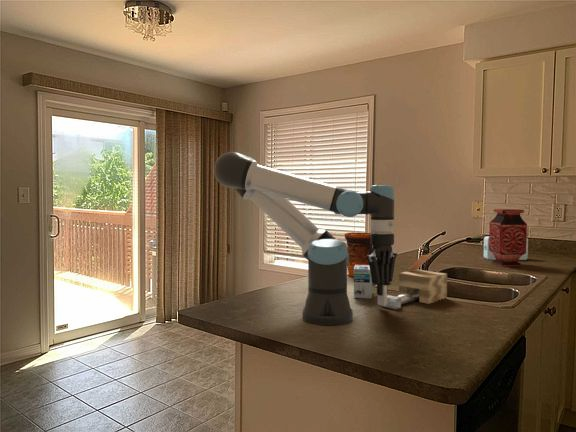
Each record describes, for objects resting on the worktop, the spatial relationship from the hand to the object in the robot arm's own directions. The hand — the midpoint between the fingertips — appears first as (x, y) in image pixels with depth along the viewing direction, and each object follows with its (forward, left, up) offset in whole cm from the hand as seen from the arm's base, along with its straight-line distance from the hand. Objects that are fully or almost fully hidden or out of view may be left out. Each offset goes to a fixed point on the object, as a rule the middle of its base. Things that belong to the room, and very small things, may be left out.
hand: (382, 304), depth 139 cm
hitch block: (+24, 0, -2) cm, 24 cm away
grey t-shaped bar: (+12, 0, -2) cm, 12 cm away
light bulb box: (+11, +17, -2) cm, 20 cm away
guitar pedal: (+147, +23, -2) cm, 149 cm away
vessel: (+42, +45, -2) cm, 62 cm away
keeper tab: (+26, +3, +11) cm, 28 cm away
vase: (+125, +13, -2) cm, 126 cm away
